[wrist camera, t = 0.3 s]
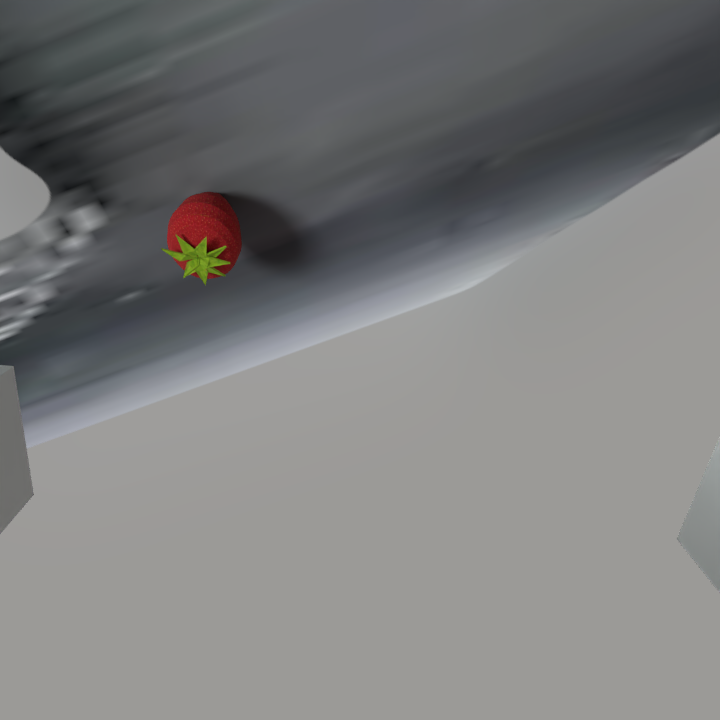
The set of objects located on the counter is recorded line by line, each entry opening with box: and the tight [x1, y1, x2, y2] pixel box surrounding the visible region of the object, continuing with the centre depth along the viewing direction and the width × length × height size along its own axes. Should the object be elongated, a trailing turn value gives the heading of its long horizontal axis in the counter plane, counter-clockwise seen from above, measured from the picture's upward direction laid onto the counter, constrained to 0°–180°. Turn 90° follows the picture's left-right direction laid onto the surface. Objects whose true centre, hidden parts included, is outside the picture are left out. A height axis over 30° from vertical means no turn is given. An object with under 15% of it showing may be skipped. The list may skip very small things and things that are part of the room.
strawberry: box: [161, 192, 242, 285], centre depth 45 cm, size 6×8×10 cm
